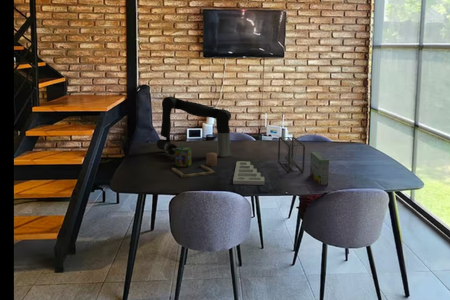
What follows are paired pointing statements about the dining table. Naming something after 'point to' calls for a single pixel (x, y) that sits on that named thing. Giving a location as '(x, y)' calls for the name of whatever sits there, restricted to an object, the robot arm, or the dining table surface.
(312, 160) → the snack box
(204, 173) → the tan flat bent strip
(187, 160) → the chalk box
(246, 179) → the holder
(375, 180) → the dining table surface
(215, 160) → the wooden block
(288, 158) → the newton's cradle
